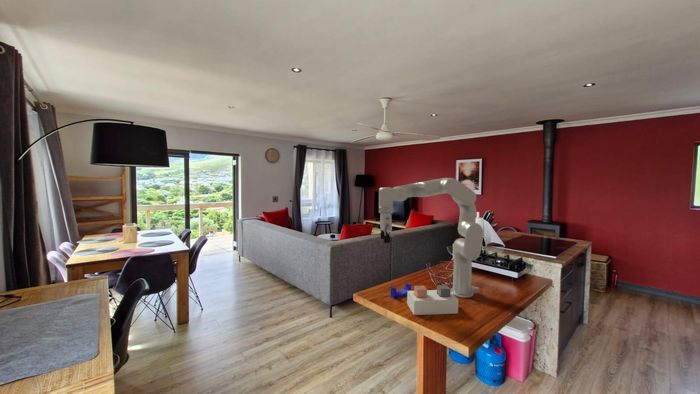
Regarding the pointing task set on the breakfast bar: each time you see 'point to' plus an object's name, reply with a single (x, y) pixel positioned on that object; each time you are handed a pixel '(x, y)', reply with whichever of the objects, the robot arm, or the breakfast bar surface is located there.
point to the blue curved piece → (400, 293)
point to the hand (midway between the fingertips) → (385, 240)
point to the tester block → (432, 303)
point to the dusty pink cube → (420, 291)
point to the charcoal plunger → (443, 291)
